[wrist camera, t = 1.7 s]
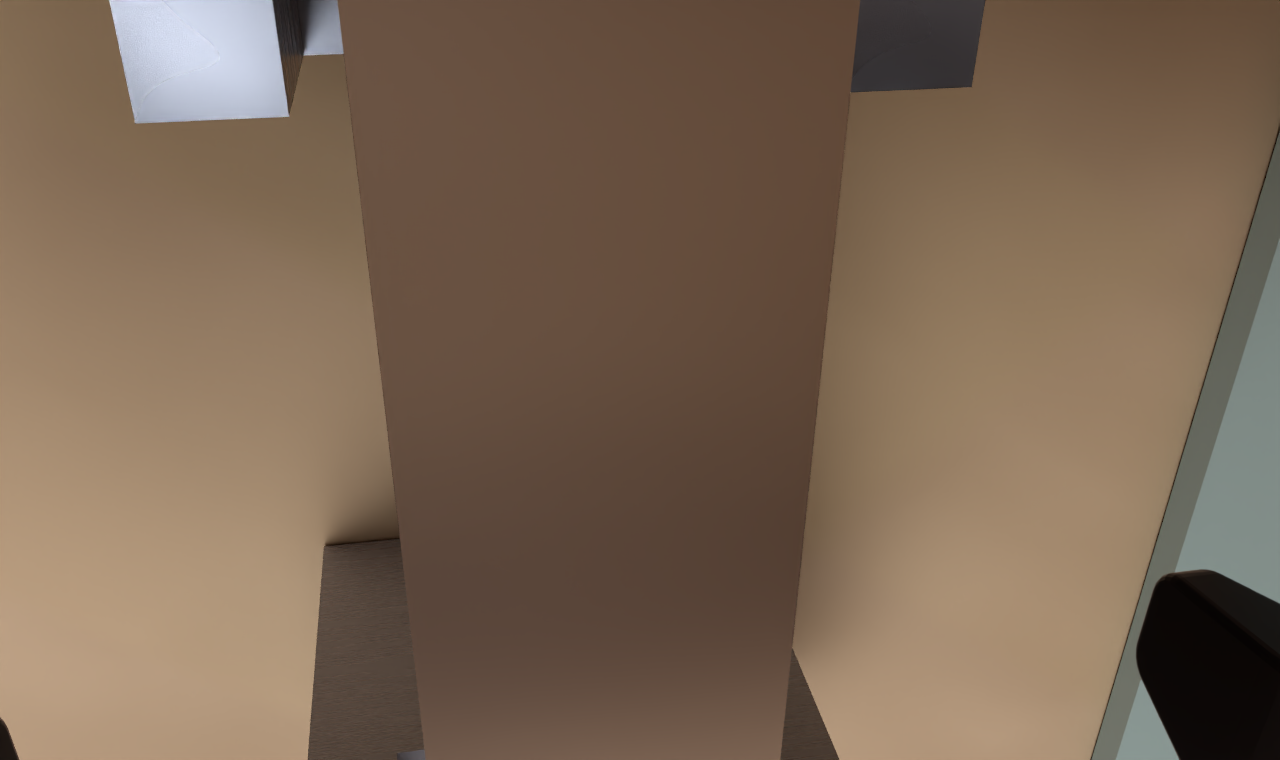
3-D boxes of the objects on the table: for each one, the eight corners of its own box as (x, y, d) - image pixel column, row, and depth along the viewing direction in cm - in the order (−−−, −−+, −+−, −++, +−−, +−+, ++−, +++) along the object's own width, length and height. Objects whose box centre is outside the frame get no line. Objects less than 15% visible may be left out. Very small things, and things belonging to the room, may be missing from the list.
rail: (682, 923, 16) (738, 1155, 13) (463, 958, 15) (477, 1206, 13) (756, -555, 8) (931, -675, 5) (300, -578, 7) (251, -724, 5)
